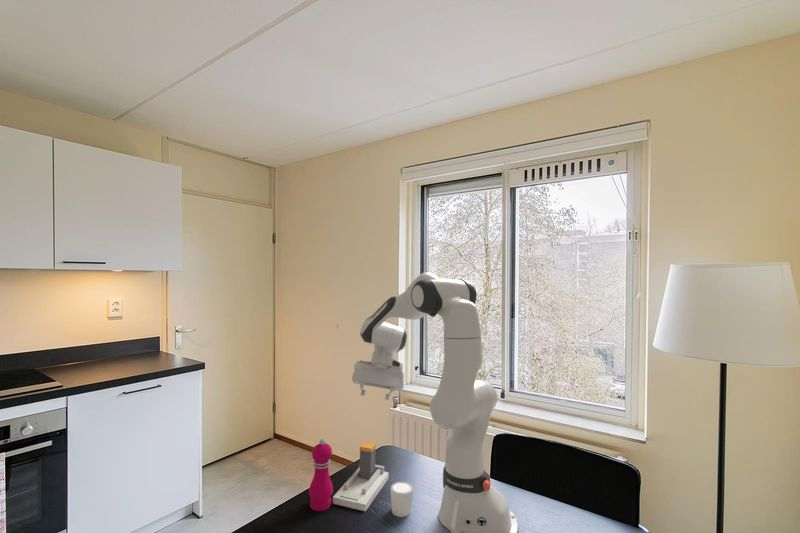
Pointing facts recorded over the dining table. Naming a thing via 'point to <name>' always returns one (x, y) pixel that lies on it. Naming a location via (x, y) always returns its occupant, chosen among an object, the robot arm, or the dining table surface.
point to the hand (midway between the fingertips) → (374, 397)
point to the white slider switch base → (361, 489)
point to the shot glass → (401, 498)
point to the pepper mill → (321, 478)
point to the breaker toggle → (367, 460)
